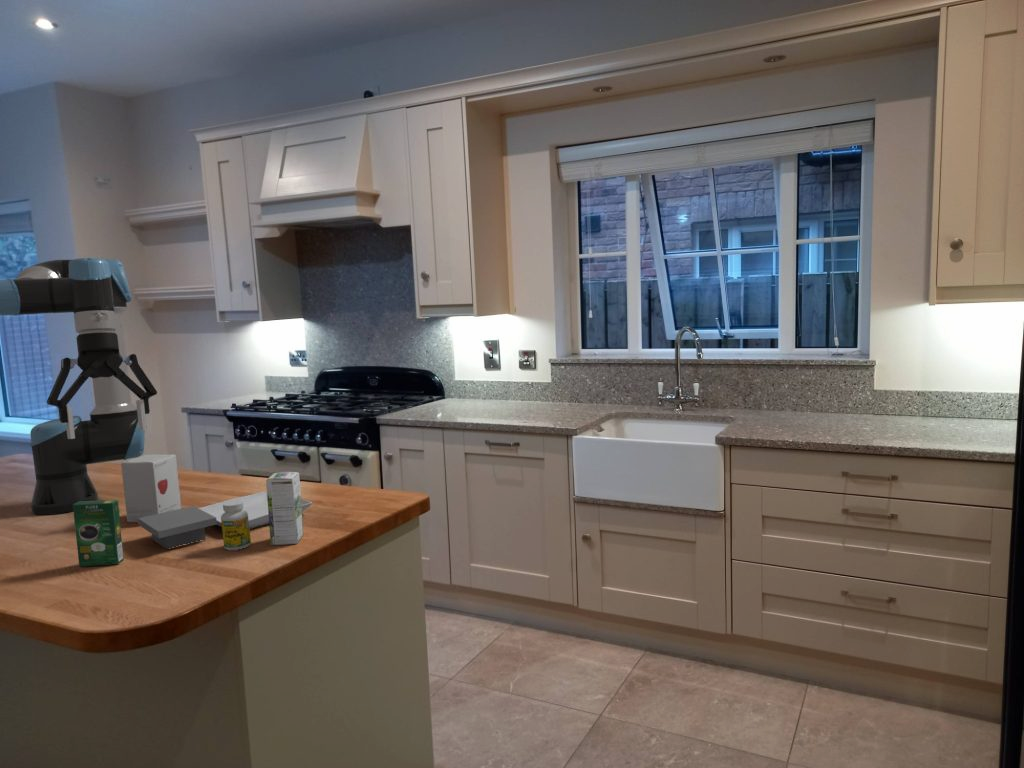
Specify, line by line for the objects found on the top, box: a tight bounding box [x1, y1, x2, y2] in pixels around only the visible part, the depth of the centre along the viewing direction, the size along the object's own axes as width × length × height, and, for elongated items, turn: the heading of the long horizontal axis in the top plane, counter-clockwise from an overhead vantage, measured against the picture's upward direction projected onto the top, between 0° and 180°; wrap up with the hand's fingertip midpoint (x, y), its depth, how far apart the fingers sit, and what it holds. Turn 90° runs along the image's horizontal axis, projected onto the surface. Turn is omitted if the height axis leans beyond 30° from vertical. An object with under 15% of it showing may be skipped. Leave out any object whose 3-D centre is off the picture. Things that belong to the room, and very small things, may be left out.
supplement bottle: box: [221, 500, 252, 551], centre depth 155 cm, size 5×5×10 cm
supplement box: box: [120, 453, 182, 523], centre depth 179 cm, size 9×9×15 cm
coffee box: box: [72, 499, 124, 567], centre depth 149 cm, size 8×3×13 cm, turn 94°
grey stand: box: [137, 505, 217, 550], centre depth 162 cm, size 14×12×5 cm
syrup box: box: [265, 471, 304, 546], centre depth 157 cm, size 6×6×14 cm
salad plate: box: [198, 490, 313, 530], centre depth 176 cm, size 21×21×3 cm
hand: (108, 434), depth 153 cm, fingers open, 13 cm apart
